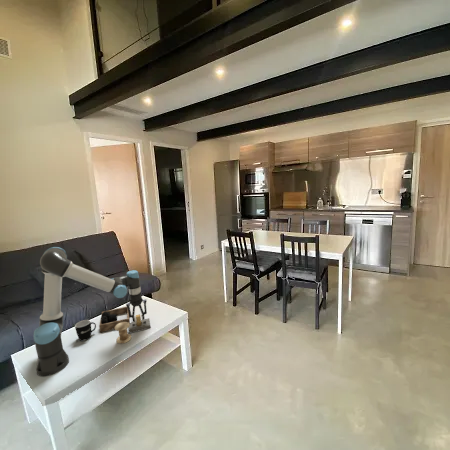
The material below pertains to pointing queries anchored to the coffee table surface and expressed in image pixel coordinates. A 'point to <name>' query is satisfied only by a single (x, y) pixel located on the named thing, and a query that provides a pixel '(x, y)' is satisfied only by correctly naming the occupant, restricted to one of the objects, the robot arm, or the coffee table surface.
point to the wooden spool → (123, 332)
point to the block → (138, 320)
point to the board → (141, 327)
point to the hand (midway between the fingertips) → (139, 324)
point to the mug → (84, 329)
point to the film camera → (108, 317)
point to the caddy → (112, 324)
